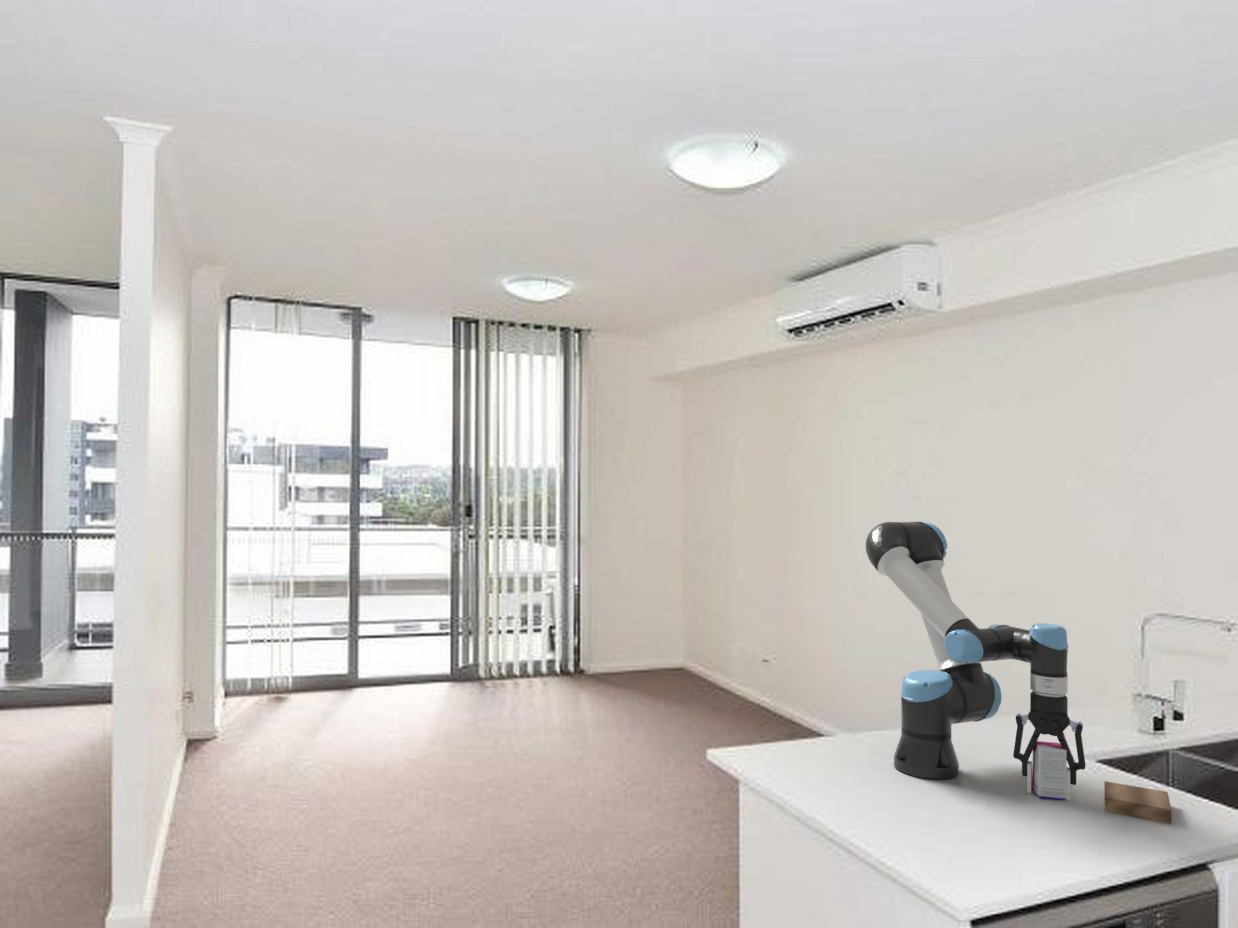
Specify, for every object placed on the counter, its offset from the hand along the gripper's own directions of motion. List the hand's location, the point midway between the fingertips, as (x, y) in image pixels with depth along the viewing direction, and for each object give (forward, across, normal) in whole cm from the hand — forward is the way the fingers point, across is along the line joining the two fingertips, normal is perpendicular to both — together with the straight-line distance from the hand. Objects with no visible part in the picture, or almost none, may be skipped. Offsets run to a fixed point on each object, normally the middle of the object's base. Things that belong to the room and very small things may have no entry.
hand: (1048, 794), depth 185 cm
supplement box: (0, 0, 0) cm, 0 cm away
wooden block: (0, +17, +2) cm, 17 cm away
